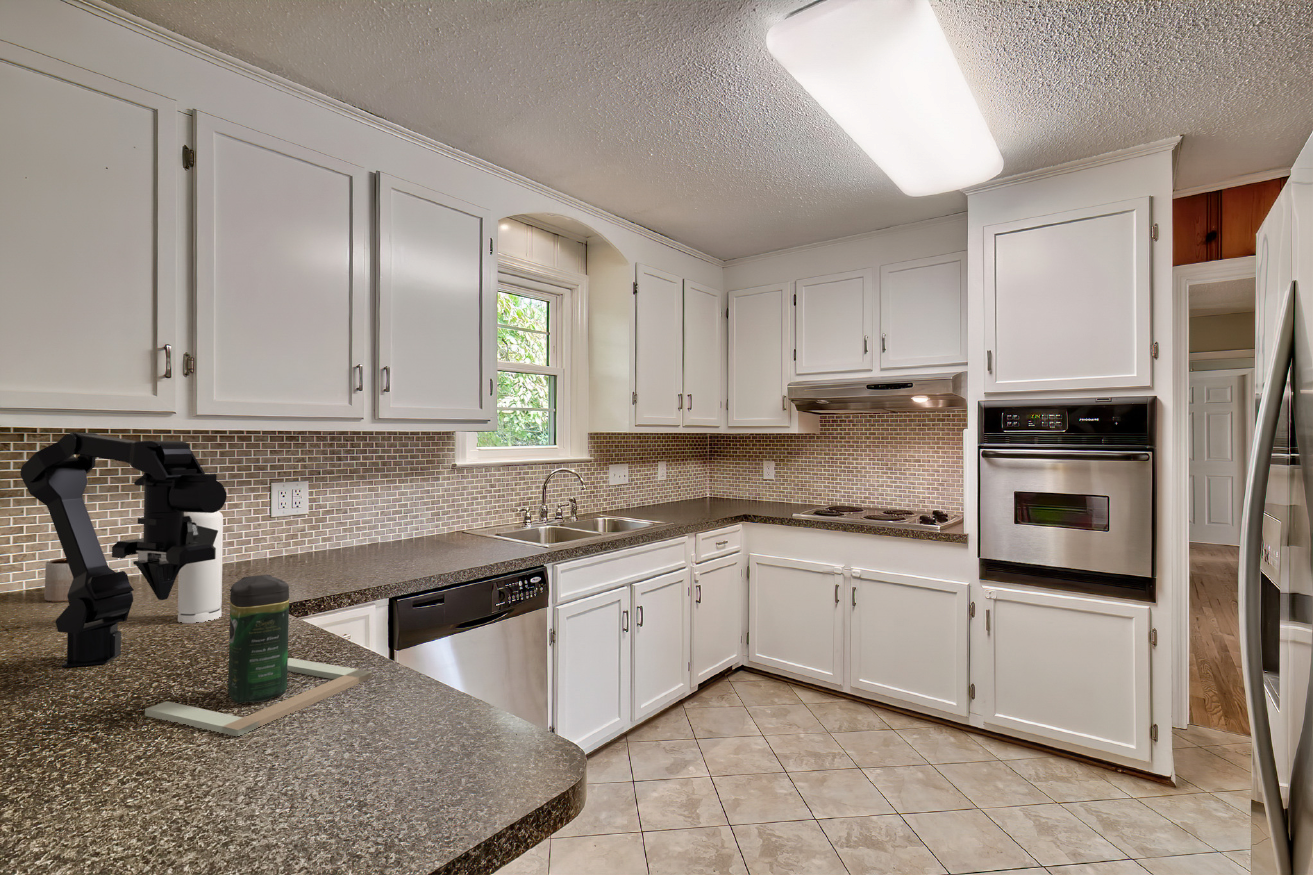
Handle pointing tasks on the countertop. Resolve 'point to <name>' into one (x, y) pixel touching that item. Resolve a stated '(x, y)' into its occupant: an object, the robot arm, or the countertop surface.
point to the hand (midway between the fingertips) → (162, 599)
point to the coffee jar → (258, 639)
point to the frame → (240, 725)
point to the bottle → (202, 577)
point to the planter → (57, 580)
